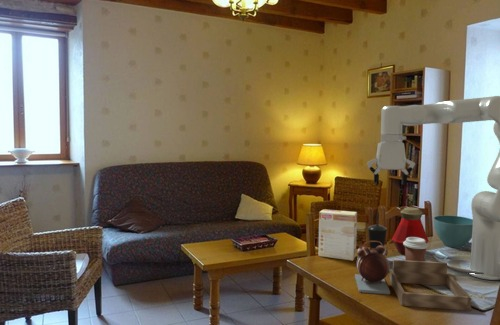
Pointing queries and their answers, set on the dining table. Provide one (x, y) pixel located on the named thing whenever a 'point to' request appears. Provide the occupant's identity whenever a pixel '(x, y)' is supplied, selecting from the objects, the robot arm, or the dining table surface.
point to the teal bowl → (453, 230)
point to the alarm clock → (372, 263)
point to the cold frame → (427, 275)
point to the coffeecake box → (337, 234)
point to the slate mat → (371, 286)
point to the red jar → (409, 228)
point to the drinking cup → (377, 234)
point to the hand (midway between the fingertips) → (390, 184)
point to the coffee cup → (415, 249)
